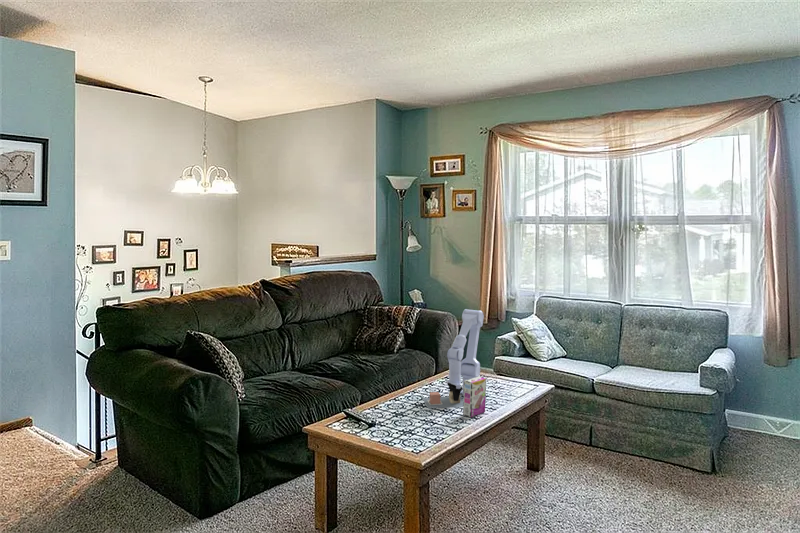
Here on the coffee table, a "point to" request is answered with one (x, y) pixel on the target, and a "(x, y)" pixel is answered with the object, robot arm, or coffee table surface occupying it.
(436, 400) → the brick-red base block
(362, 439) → the coffee table surface
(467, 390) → the candy bar box
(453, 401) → the maple block
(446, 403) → the grey flat plate
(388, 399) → the coffee table surface
